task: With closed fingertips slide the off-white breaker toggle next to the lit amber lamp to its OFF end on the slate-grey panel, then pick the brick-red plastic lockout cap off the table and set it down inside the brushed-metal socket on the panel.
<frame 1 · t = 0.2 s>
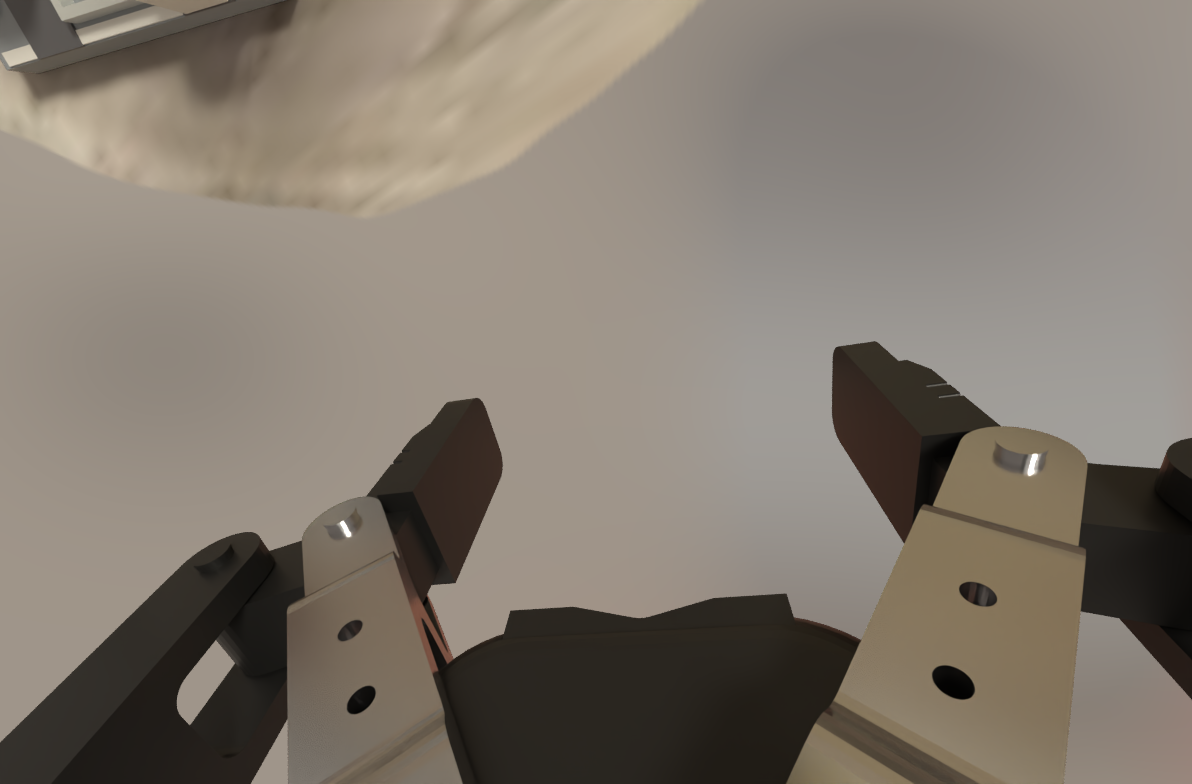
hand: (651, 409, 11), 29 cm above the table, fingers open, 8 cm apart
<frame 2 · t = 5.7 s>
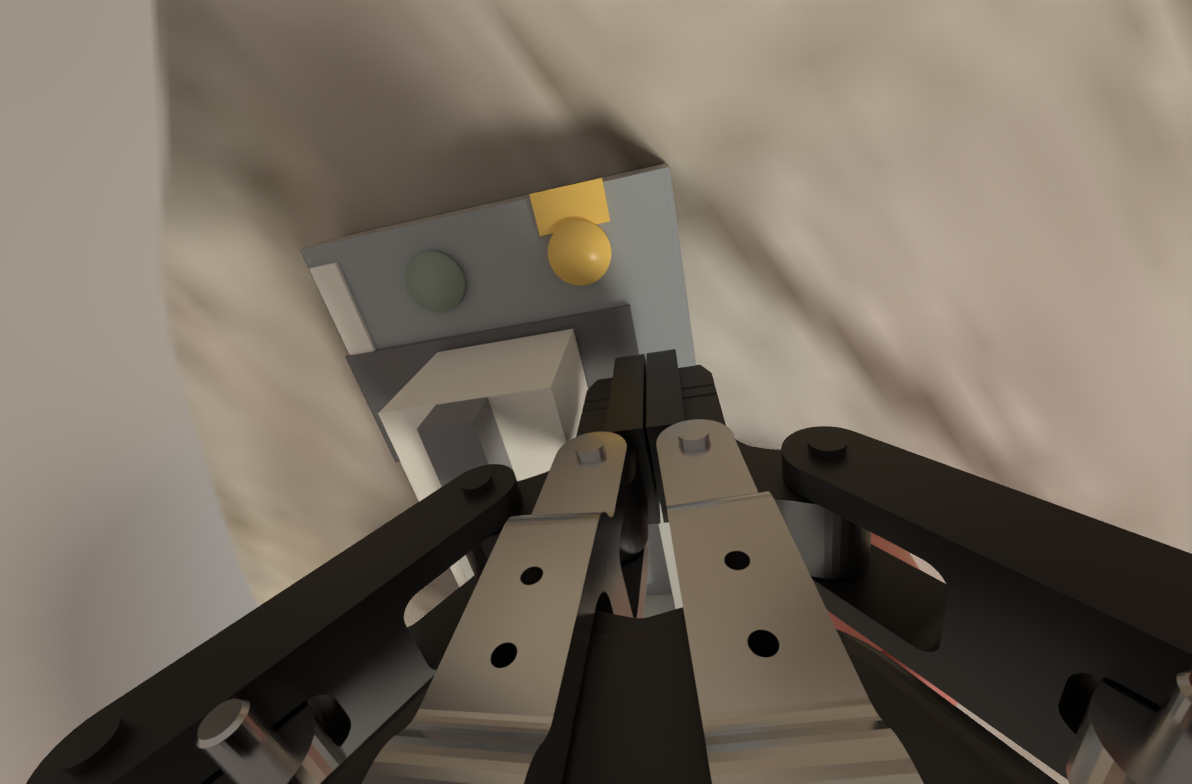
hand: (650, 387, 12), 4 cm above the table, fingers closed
panel: (578, 499, 19), on the table
toggle 1: (499, 432, 12), point 5 cm above the table, slide at 1.1 cm, touching gripper
lockout cap: (838, 552, 19), on the table
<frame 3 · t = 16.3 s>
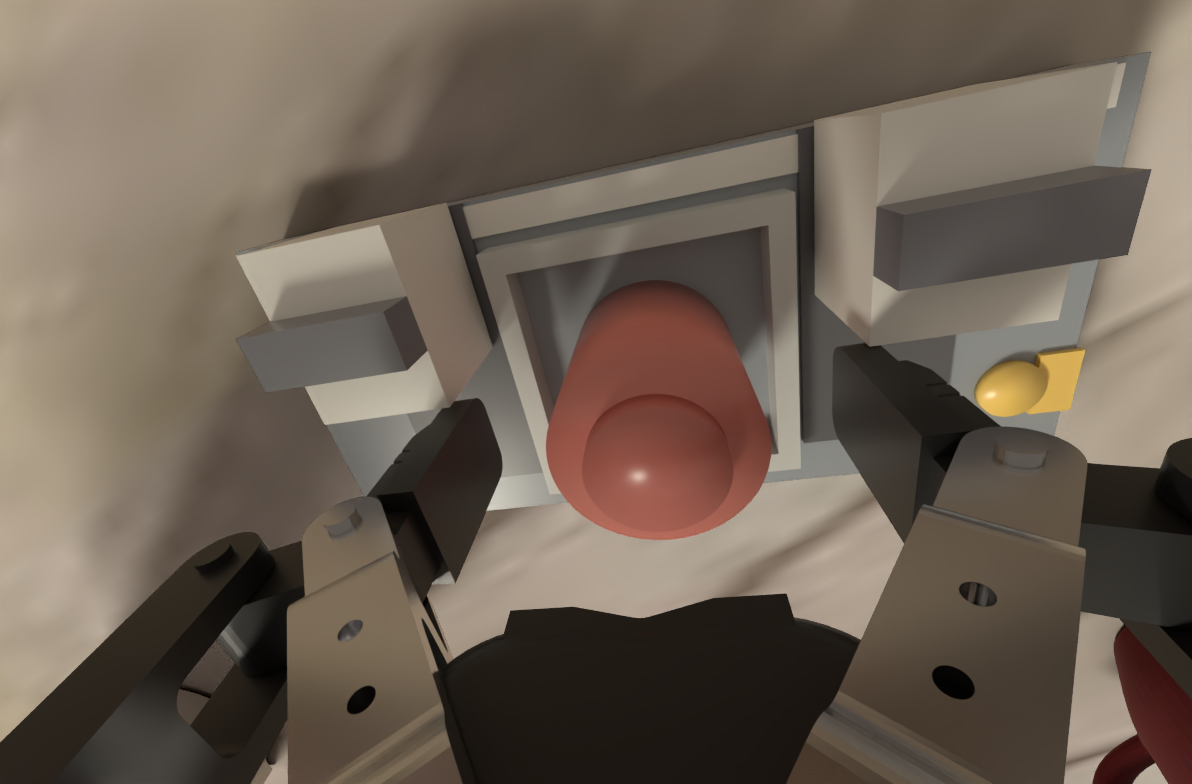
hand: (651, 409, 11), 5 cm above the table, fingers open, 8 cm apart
toggle 2: (377, 316, 11), point 5 cm above the table, slide at 4.1 cm
panel: (650, 330, 16), on the table
mug: (1138, 648, 21), on the table
toggle 1: (937, 213, 9), point 5 cm above the table, slide at 4.1 cm
lockout cap: (653, 355, 14), point 2 cm above the table, touching panel
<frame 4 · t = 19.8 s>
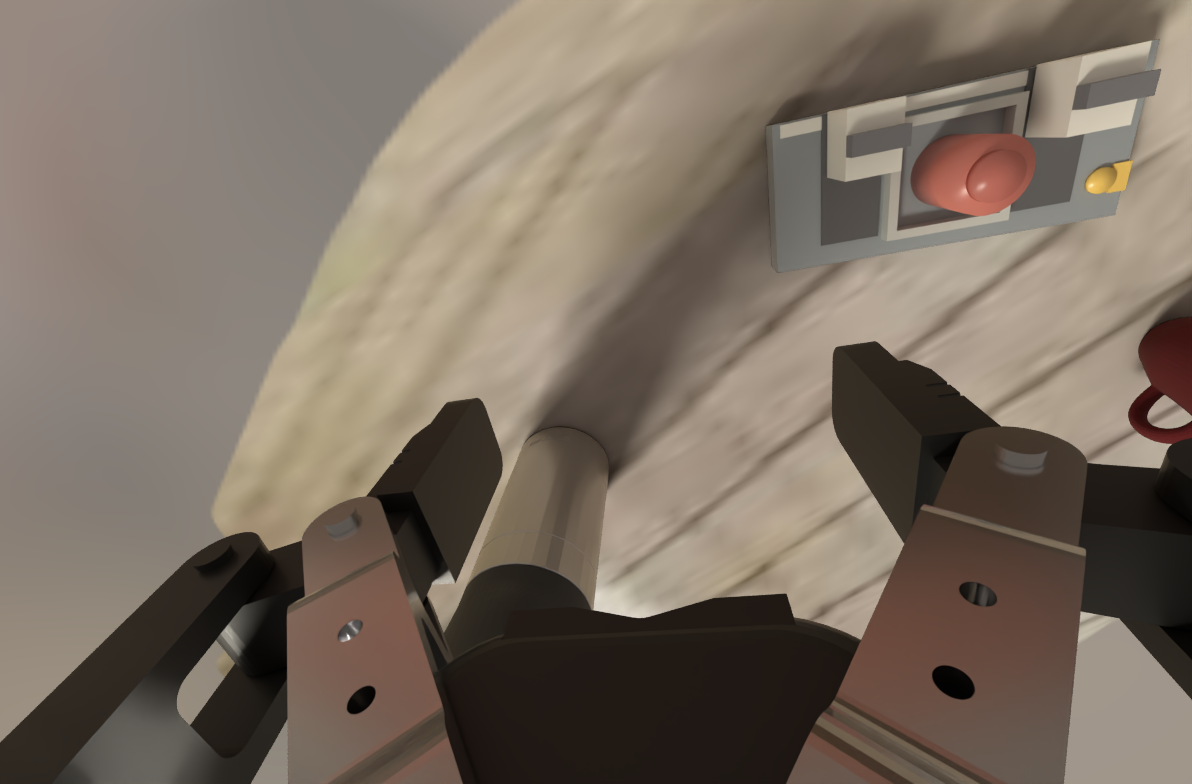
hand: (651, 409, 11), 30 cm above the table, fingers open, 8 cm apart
toggle 2: (866, 140, 30), point 5 cm above the table, slide at 4.1 cm
panel: (929, 168, 35), on the table
mug: (1151, 354, 39), on the table
toggle 1: (1089, 92, 28), point 5 cm above the table, slide at 4.1 cm
lockout cap: (945, 170, 33), point 2 cm above the table, touching panel
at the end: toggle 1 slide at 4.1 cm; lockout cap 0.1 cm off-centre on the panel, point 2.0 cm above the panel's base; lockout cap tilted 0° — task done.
